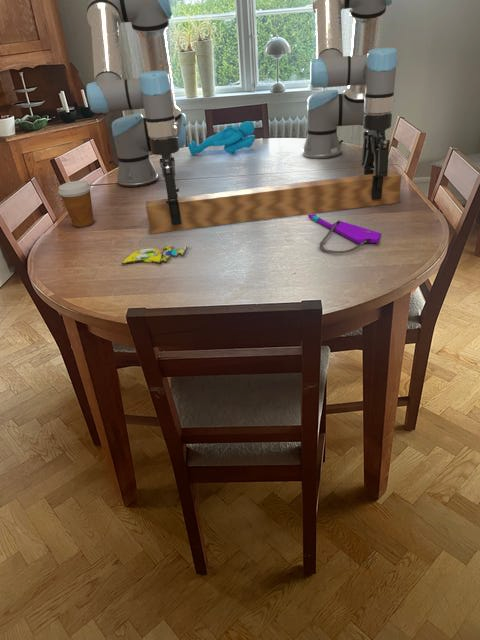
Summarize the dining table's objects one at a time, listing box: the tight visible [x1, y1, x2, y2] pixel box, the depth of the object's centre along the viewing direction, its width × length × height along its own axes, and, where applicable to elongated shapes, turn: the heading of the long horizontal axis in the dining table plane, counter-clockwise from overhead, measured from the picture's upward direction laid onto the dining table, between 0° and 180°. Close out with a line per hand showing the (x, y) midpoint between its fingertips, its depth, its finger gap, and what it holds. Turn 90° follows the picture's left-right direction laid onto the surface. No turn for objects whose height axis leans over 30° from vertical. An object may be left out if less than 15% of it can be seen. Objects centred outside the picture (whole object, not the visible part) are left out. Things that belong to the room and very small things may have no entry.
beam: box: [145, 170, 402, 235], centre depth 141 cm, size 74×4×8 cm, turn 98°
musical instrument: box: [307, 213, 382, 254], centre depth 126 cm, size 24×2×20 cm
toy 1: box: [121, 245, 188, 265], centre depth 125 cm, size 10×1×15 cm
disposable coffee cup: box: [58, 180, 95, 228], centre depth 147 cm, size 10×10×12 cm
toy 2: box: [187, 120, 256, 156], centre depth 208 cm, size 17×11×30 cm
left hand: (176, 219), depth 139 cm, fingers open, 7 cm apart
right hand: (371, 194), depth 144 cm, fingers open, 7 cm apart
